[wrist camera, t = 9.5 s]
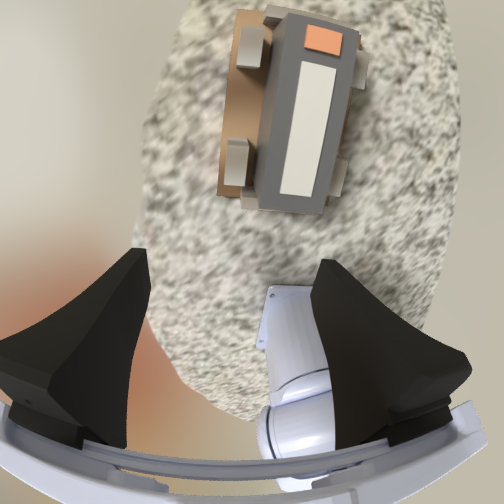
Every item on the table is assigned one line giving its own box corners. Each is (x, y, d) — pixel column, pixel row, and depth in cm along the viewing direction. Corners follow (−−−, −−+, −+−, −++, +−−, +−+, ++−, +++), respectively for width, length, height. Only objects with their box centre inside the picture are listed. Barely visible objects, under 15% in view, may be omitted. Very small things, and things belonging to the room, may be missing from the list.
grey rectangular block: (301, 181, 18) (323, 216, 14) (252, 176, 18) (259, 210, 14) (326, 42, 13) (361, 31, 8) (272, 31, 12) (289, 11, 8)
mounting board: (323, 200, 20) (338, 222, 17) (217, 190, 19) (215, 211, 16) (355, 36, 13) (379, 30, 10) (237, 12, 12) (238, -3, 9)
